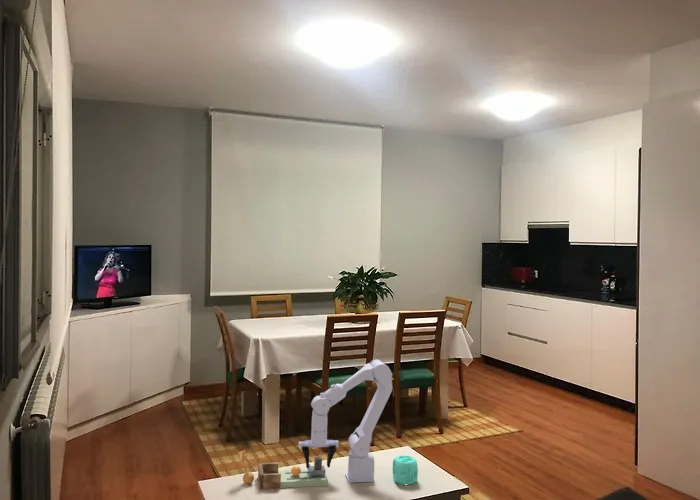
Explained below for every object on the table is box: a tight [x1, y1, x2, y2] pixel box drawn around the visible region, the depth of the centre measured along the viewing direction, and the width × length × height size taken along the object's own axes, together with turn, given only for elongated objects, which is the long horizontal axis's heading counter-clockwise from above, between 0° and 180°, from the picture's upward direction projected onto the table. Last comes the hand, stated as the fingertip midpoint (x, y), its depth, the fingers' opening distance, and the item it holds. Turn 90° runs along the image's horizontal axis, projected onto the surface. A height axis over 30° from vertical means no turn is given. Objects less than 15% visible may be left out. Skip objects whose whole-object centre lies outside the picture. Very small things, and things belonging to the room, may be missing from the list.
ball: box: [290, 465, 302, 476], centre depth 213 cm, size 4×4×4 cm
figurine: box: [237, 449, 255, 485], centre depth 209 cm, size 8×6×12 cm
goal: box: [257, 461, 281, 491], centre depth 211 cm, size 7×11×5 cm, turn 12°
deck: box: [278, 469, 329, 489], centre depth 213 cm, size 17×10×2 cm, turn 102°
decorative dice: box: [392, 455, 419, 485], centre depth 217 cm, size 8×8×8 cm
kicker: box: [306, 456, 326, 478], centre depth 214 cm, size 6×7×6 cm
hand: (317, 466), depth 214 cm, fingers open, 7 cm apart
